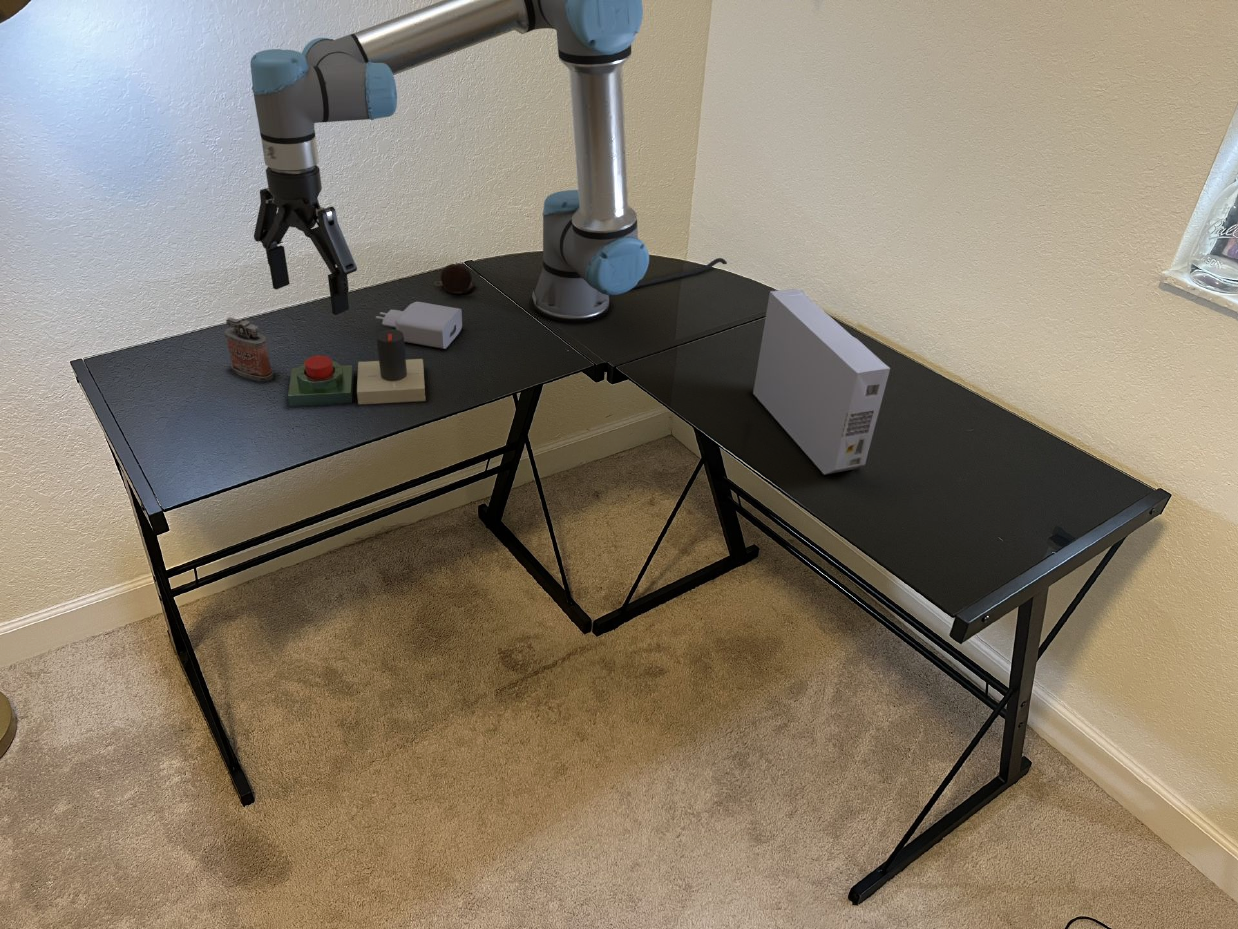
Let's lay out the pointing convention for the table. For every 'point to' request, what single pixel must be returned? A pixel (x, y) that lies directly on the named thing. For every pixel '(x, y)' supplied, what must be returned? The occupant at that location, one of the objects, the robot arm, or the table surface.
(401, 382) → the hob panel
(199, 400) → the table surface
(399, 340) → the hob knob
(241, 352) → the lighter
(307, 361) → the button
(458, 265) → the dark brown round lump
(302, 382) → the box
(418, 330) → the charger
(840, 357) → the game console
